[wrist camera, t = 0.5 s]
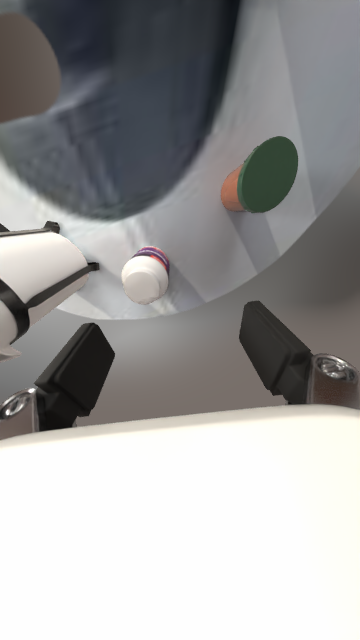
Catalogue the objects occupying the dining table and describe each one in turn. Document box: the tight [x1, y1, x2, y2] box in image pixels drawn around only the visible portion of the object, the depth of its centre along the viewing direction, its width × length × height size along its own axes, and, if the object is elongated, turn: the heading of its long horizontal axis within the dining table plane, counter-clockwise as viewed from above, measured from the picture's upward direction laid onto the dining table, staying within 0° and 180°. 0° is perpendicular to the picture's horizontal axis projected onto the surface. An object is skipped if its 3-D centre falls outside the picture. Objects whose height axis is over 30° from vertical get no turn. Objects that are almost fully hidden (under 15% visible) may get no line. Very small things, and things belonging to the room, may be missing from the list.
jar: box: [221, 163, 245, 211], centre depth 23 cm, size 6×6×10 cm
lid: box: [236, 136, 298, 213], centre depth 19 cm, size 7×7×2 cm
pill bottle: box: [122, 246, 169, 305], centre depth 28 cm, size 8×8×14 cm
